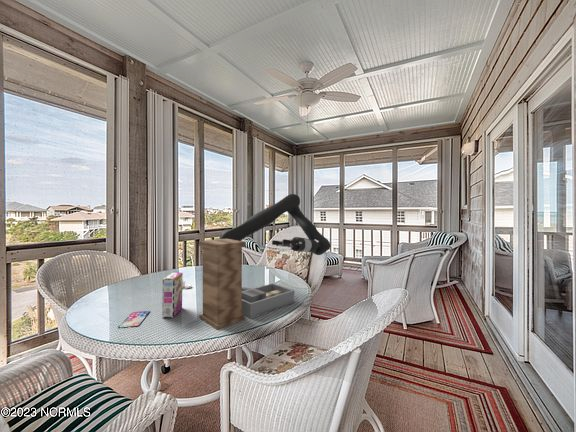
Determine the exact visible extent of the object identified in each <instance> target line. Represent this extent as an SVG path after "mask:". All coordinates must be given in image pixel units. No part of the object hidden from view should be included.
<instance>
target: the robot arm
mask: <svg viewBox="0 0 576 432" xmlns="http://www.w3.org/2000/svg"><path fill="white" fill-rule="evenodd" d="M300 203H301V199H300V196H299V195H298V194H295V193H291V194H288V195H286V196H285V197H283V198H282V199H280V200H279V201H277V202H276V203H274V204H272V205H270V206H268V207H266V208H264V209H262V210H260V211H258V212H257V213H255V214H253V215H251V216H250V217H249V218H248V219H246V220H245V221H244V222H243V223H242V224H240V225H238V226H235V227H233V228H231V229H229V228H228V229H224V230H223V231H222V232H220V234H219V239H232V240H238V241H243V240H244V239H245V238H247V237H248V236H250V235H253V234H254V233H256V232H259V231H260V230H263V229H264V228H267V227H268V226H270V225H271V224H273V223H274V222H275V221H276V220H277V219H278V218H280V216H281V215H283V214H285V213H288V214H289V215H290V217H292V218H293V219H294V220H295V222H296V223H297V224H298V225H299V226H300V228H301V230H302V232H303V233H304V234H305V235H306V238H305V237H299V236H294V237H292V238H290V239H282V240H271V245H272V246H277V247H284V248H286V247H287V248H290V249H291V250H292V251H293V252H301V253H302V252H303V253H307V252H308V253H312V254H314V255H317V256H321V255H323V254H325V253H326V252H327V251H329V250H330V249H331V242H330V241H329V240H328V239H327V238H326V237H325V236H324V235H323V234H322V233H320V232H319V230H318V229H317V228H316V226H315V225H314V224H313V222H312V221H311V220H310V219H309V218H308V217H307V216H305V214H303V212H302V210H301V209H300V207H299V206H300Z"/></svg>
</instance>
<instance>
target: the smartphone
mask: <svg viewBox="0 0 576 432" xmlns="http://www.w3.org/2000/svg"><path fill="white" fill-rule="evenodd" d="M150 313H151V310H148V311H147V310H146V311H145V310H144V311H134V312H132V313H130V314H129V317H128V316H127V318H125V319H124V321H123V322H121V324H120V325H119V326H118V327H117V328H118V329H129V328H128V327H131V328H139V327H140V326H141V325H142V324H143V322H144V321H145V320H146V319H147V317H148V316H149V315H150Z"/></svg>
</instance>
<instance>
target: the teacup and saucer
mask: <svg viewBox="0 0 576 432" xmlns="http://www.w3.org/2000/svg"><path fill="white" fill-rule="evenodd" d="M192 287H193V286H192V284H187V285H186V280H182V291H183V290H184V291H185V290H188V289H189V288H192Z"/></svg>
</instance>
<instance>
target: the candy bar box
mask: <svg viewBox="0 0 576 432" xmlns="http://www.w3.org/2000/svg"><path fill="white" fill-rule="evenodd" d="M182 281H183V272H171V273H170V274H168V275H166V276H165V277H163V279H162V314H161V315H162V319H166V318H169V319H172V318H173V319H174V318H175V317H176V316H177V315H178V313H180V312H179V311H181V310H182V308H183V290H182V289H183V288H182Z"/></svg>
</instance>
